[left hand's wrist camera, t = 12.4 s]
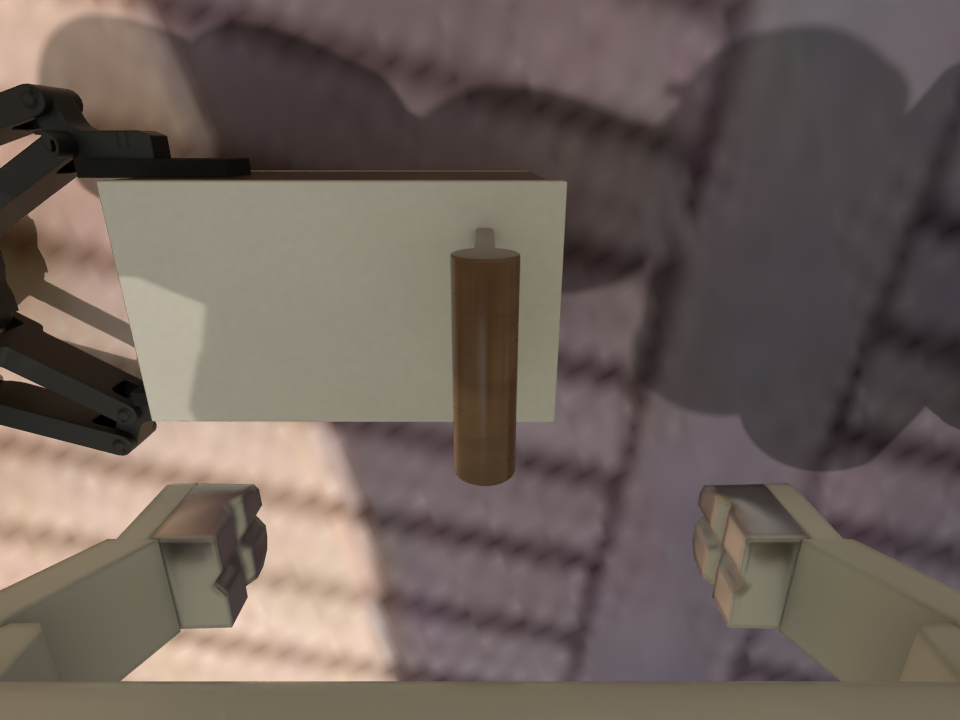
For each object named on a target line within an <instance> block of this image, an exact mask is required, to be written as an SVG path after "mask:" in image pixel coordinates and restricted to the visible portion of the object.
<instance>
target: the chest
mask: <svg viewBox="0 0 960 720" xmlns="http://www.w3.org/2000/svg"><path fill="white" fill-rule="evenodd" d="M117 180H545V179H543V178H541V177H539V176H537V175H535V174H533V173H531V171H529V170H251V174H250V175H241V176H233V177H139V178H128V179H117Z"/></svg>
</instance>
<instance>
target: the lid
mask: <svg viewBox="0 0 960 720" xmlns="http://www.w3.org/2000/svg"><path fill="white" fill-rule="evenodd" d="M97 187H98V192H99V196H100V200H101V205H102V209H103V213H104V217H105V222H106V226H107V230H108V234H109V239H110V243H111V247H112V251H113V256H114V260H115V264H116V269H117V273H118V277H119V281H120V286H121V290H122V294H123V298H124V303H125V307H126V311H127V315H128V320H129V324H130V328H131V332H132V337H133V341H134V345H135V350H136V354H137V358H138V362H139V367H140V371H141V375H142V379H143V384H144V388H145V392H146V396H147V401H148V405H149V409H150V414H151V418H152V421H327V422H453V434H454V471H455V473H456V475H457V476H458V477H459V478H460V479H461V480H463V481H464V482H467V483H469V484H473V485H479V486H491V485H497V484H500V483H503V482H505V481H507V480H508V479H510V478H511V477H512V475H513V474H514V472H515V448H516V422H554V420H555V402H556V383H557V365H558V346H559V327H560V309H561V290H562V271H563V252H564V234H565V215H566V196H567V182H566V181H563V180H105V181H97Z"/></svg>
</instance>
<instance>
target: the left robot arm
mask: <svg viewBox="0 0 960 720" xmlns="http://www.w3.org/2000/svg"><path fill="white" fill-rule="evenodd" d="M261 506H262V502H261V497H260V492H259V489H258V488H257V487H256V486H255V485H252V484H203V483H201V484H198V483H174V484H170V485H167V486H166V487H165V488H164V489H163V490H162V491H161V492H160V493H159V494H158V495H157V496H156V497H155V498H154V500H153V501H152V502H151V503H150V504H149V505H148V506H147V507H146V508H145V509H144V510H143V511H142V512H141V513H140V515H139V516H138V517H137V518H136V519H135V520H134V521H133V522H132V523H131V524H130V525H129V526H128V527H127V528H126V530H125V531H124V532H123V533H122V534H121V535H120V536H119V537H118V538H117V539H107V540H105V541H103V542H100V543H98V544H96V545H94V546H92V547H90V548H88V549H86V550H84V551H82V552H80V553H78V554H75V555H73V556H71V557H69V558H67V559H65V560H63V561H61V562H59V563H57V564H55V565H53V566H50V567H48V568H46V569H44V570H42V571H40V572H38V573H36V574H34V575H32V576H30V577H28V578H25V579H23V580H21V581H19V582H17V583H15V584H13V585H11V586H9V587H7V588H5V589H3V590H0V720H960V591H959V590H957V589H955V588H953V587H951V586H949V585H947V584H945V583H943V582H941V581H938V580H936V579H934V578H932V577H930V576H928V575H926V574H924V573H922V572H920V571H918V570H916V569H914V568H911V567H909V566H907V565H905V564H903V563H901V562H899V561H897V560H895V559H893V558H891V557H889V556H887V555H884V554H882V553H880V552H878V551H876V550H874V549H872V548H870V547H868V546H866V545H864V544H862V543H860V542H857V541H855V540H853V539H843V538H842V537H841V536H840V535H839V534H838V533H837V532H836V531H835V529H834V528H833V527H832V526H831V525H830V524H829V523H828V522H827V521H826V520H825V519H824V518H823V517H822V516H821V514H820V513H819V512H818V511H817V510H816V509H815V508H814V507H813V506H812V505H811V504H810V503H809V502H808V501H807V499H806V498H805V497H804V496H803V495H802V494H801V493H800V492H799V491H798V490H797V489H796V488H795V487H794V486H793V485H790V484H788V483H770V484H748V485H704V486H703V488H702V490H701V492H700V496H699V501H698V506H699V507H700V509H701V511H702V512H703V514H704V516H703V517H702V518H701V519H700V520H699V521H698V522H697V523H696V524H695V525H694V533H693V552H694V558H695V561H696V565H697V568H698V570H699V572H700V574H701V576H702V578H703V579H705V580H706V581H708V582H709V583H710V584H712V585H713V586H714V591H713V596H712V597H713V599H714V601H715V603H716V605H717V607H718V609H719V611H720V613H721V615H722V616H723V618H724V620H725V622H726V624H727V626H728V627H731V628H767V629H780V632H781V633H782V634H783V635H785V636H786V637H787V638H788V639H789V640H791V641H792V642H793V643H794V644H796V645H797V646H798V647H799V648H800V649H802V650H803V651H804V652H805V653H806V654H808V655H809V656H810V657H811V658H813V659H814V660H815V661H816V662H817V663H819V664H820V665H821V666H822V667H823V668H825V669H826V670H827V671H828V672H830V673H831V674H832V675H833V676H834V677H836V678H837V679H838V680H839V681H841V682H437V681H282V682H130V681H121V680H122V679H123V678H125V677H126V676H127V675H128V674H129V673H131V672H132V671H133V670H134V669H135V668H137V667H138V666H139V665H140V664H142V663H143V662H144V661H145V660H146V659H148V658H149V657H150V656H151V655H153V654H154V653H155V652H156V651H157V650H159V649H160V648H161V647H162V646H164V645H165V644H166V643H167V642H168V641H170V640H171V639H172V638H173V637H174V636H176V635H177V634H178V633H179V632H180V629H193V628H227V627H232V626H233V624H234V622H235V620H236V618H237V617H238V615H239V613H240V611H241V609H242V607H243V605H244V603H245V601H246V599H247V597H248V596H247V591H246V586H247V585H248V584H250V583H251V582H252V581H254V580H255V579H257V578H258V576H259V574H260V572H261V570H262V568H263V566H264V561H265V557H266V552H267V532H266V525H265V524H264V523H263V522H262V521H261V520H260V519H259V518H258V517H257V516H256V514H257V512H258V511H259V509H260V507H261Z"/></svg>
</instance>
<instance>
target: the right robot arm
mask: <svg viewBox="0 0 960 720" xmlns="http://www.w3.org/2000/svg"><path fill="white" fill-rule="evenodd" d="M82 111H83V103H82V100H81V98H80V97H79V96H78V94H76V93H75V92H74V91H72V90H68V89H62V88H55V87H48V86H40V85H33V84H21V85H19V86H16V87H13V88H11V89H8V90H5V91H3V92H0V145H3V144H6V143H9V142H11V141H14V140H17V139H19V138H22V137H25V136H28V135H30V134H33V133H34V134H35V135H41V137H40V138H39V139H37V140H36V141H35V142H34V143H32V144H31V145H30V146H28V147H27V148H26V149H25V150H23V151H22V152H21V153H19V154H18V155H17V156H16V157H14V158H13V159H12V160H11V161H9V162H8V163H7V164H5V165H4V166H3V167H2V168H0V238H2V237H3V236H4V235H6V234H7V233H8V232H10V231H11V230H12V229H13V228H14V226H13V224H14V223H16V222H17V221H18V220H20V219H21V218H22V217H24V216H25V215H26V214H28V213H29V212H30V211H32V210H33V209H34V208H36V207H37V206H38V205H40V204H41V203H42V202H44V201H45V200H46V199H48V198H49V197H50V196H52V195H53V194H54V193H56V192H57V191H58V190H60V189H61V188H62V187H64V186H65V185H66V184H68V183H69V182H70V181H72V180H73V179H74V178H76V177H77V176H78V178H139V177H233V176H241V175H250V174H251V169H250V162H249V158H171V155H170V150H169V144H168V139H167V136H165V135H163V134H160V133H158V132H155V131H99V130H97V129H95V128H93V127H92V126H91V125H90V124H89V123H88V122H87V121H86V119H85V117H84V116H83V114H82ZM16 311H19V310H18V306H17V303H16V300H15V296H14V295H13V293H12V291H11V289H10V288H9V286H8V284H7V282H6V277H5V264H4V260H3V257H2V254H1V251H0V367H3V368H5V369H7V370H9V371H11V372H14V373H16V374H18V375H20V376H22V377H24V378H26V379H28V380H30V381H33V382H35V383H37V384H39V385H41V386H43V387H45V388H43V387H39V386H35V385H32V384H28V383H23V382H17V381H3V377H2V375H0V425H4V426H7V427H11V428H15V429H19V430H23V431H27V432H31V433H35V434H39V435H42V436H46V437H50V438H54V439H58V440H62V441H66V442H70V443H74V444H77V445H81V446H85V447H89V448H93V449H97V450H101V451H105V452H108V453H112V454H116V455H122V456H124V455H127V454H129V453H130V452H131V451H132V450H133V449H135V448H136V447H137V446H138V445H139V444H140V443H142V442H143V441H144V440H145V439H146V438H147V437H149V436H150V435H151V434H152V433H153V432H154V431H155V430H156V427H157V426H156V422H155V421H152V418H151V414H150V409H149V405H148V401H147V396H146V392H145V388H144V384H143V381H142V380H140V379H138V378H136V377H134V376H132V375H130V374H128V373H126V372H124V371H122V370H120V369H118V368H116V367H114V366H112V365H110V364H108V363H106V362H104V361H102V360H100V359H98V358H96V357H94V356H92V355H90V354H88V353H86V352H84V351H82V350H79V349H77V348H75V347H73V346H71V345H69V344H67V343H65V342H63V341H61V340H59V339H57V338H55V337H53V336H51V335H49V334H47V333H45V332H44V331H43V326H42V325H41V324H39V323H38V322H36V321H33V320H31V319H29V318H27V317H25V316H23V315H21V314H19V313H17V312H16Z"/></svg>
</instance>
